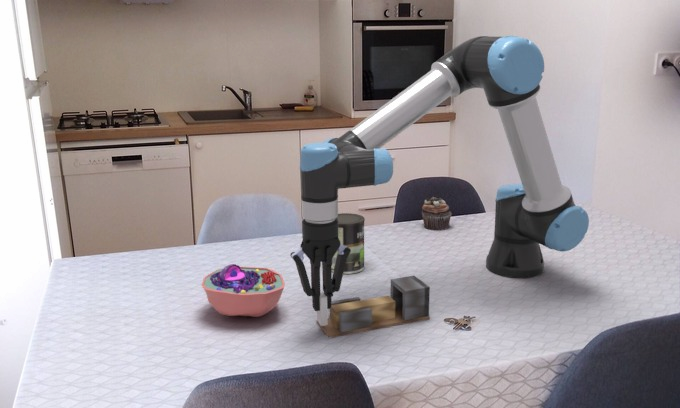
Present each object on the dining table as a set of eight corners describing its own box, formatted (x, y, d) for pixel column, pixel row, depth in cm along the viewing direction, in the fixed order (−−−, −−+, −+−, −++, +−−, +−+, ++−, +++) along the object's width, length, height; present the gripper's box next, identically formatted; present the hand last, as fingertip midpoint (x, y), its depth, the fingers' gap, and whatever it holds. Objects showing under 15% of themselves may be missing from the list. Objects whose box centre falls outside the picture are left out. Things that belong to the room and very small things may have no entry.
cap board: (412, 305, 150) (413, 275, 148) (429, 318, 143) (430, 287, 141) (316, 322, 142) (315, 290, 140) (328, 337, 135) (328, 304, 133)
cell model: (256, 338, 135) (253, 288, 132) (187, 317, 146) (184, 270, 143) (302, 309, 149) (301, 263, 146) (236, 291, 160) (234, 248, 157)
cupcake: (443, 233, 203) (444, 202, 200) (416, 228, 208) (417, 198, 206) (455, 225, 211) (457, 196, 208) (429, 220, 216) (429, 192, 213)
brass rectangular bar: (388, 311, 146) (388, 295, 145) (395, 318, 143) (395, 301, 142) (330, 322, 141) (330, 305, 140) (336, 328, 138) (336, 311, 137)
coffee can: (367, 262, 179) (367, 213, 175) (361, 275, 169) (361, 224, 165) (331, 259, 181) (330, 212, 177) (323, 273, 171) (322, 222, 167)
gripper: (342, 210, 138) (344, 311, 144) (284, 217, 133) (288, 320, 139) (356, 219, 131) (356, 324, 137) (295, 227, 126) (298, 335, 133)
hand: (322, 322), depth 138 cm, fingers closed
